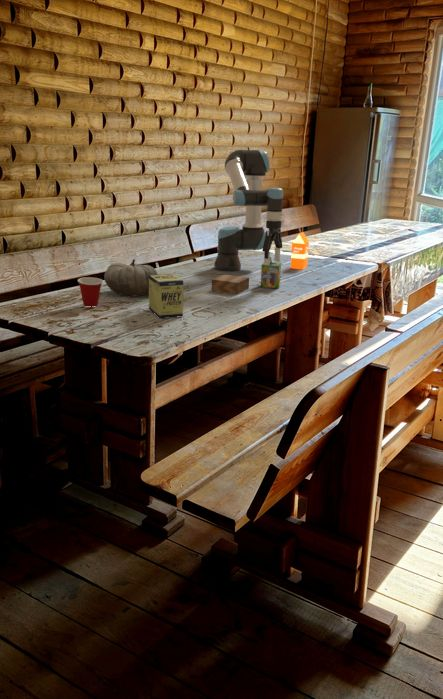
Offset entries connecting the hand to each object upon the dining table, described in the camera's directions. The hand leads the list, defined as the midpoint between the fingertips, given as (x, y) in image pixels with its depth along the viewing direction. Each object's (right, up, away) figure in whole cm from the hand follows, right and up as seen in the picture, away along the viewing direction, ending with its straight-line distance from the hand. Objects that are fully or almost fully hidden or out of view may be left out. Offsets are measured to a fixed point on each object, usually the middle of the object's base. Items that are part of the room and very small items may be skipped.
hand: (271, 263), depth 340 cm
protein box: (-49, -28, -51) cm, 76 cm away
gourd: (-68, -17, -19) cm, 73 cm away
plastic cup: (-82, -25, -44) cm, 96 cm away
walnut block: (-21, -14, -5) cm, 26 cm away
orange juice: (+20, +4, +53) cm, 57 cm away
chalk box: (0, -12, +4) cm, 12 cm away
